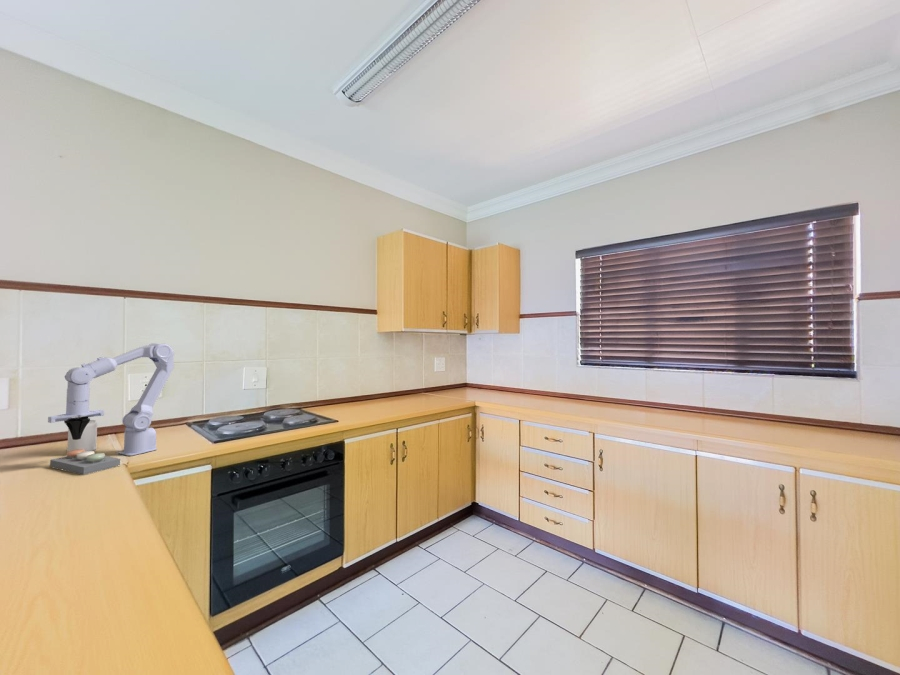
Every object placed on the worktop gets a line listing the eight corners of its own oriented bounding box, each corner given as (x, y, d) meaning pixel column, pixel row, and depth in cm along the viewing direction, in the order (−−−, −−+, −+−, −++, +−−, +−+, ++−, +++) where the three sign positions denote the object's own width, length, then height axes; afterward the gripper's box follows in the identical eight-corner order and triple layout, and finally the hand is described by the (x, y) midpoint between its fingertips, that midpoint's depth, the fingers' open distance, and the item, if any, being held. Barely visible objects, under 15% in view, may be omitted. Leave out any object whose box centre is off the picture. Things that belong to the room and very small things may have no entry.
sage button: (99, 464, 129) (100, 452, 129) (107, 466, 127) (107, 453, 127) (83, 468, 125) (84, 455, 125) (91, 470, 123) (91, 457, 123)
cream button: (89, 462, 131) (90, 450, 131) (96, 464, 129) (97, 451, 130) (73, 466, 127) (73, 453, 127) (80, 467, 125) (81, 455, 125)
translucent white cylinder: (77, 456, 140) (78, 424, 140) (61, 454, 141) (62, 423, 141) (101, 450, 147) (102, 420, 148) (86, 448, 149) (87, 419, 149)
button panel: (49, 467, 127) (50, 459, 127) (86, 458, 136) (87, 452, 136) (83, 475, 120) (83, 467, 120) (119, 465, 129) (120, 458, 129)
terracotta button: (79, 460, 133) (80, 448, 133) (87, 461, 132) (87, 449, 132) (63, 463, 129) (64, 451, 129) (70, 465, 127) (71, 453, 128)
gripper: (56, 404, 123) (55, 445, 122) (109, 399, 136) (108, 435, 136) (45, 403, 125) (43, 443, 125) (98, 397, 139) (96, 433, 138)
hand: (76, 439), depth 130 cm, fingers closed
